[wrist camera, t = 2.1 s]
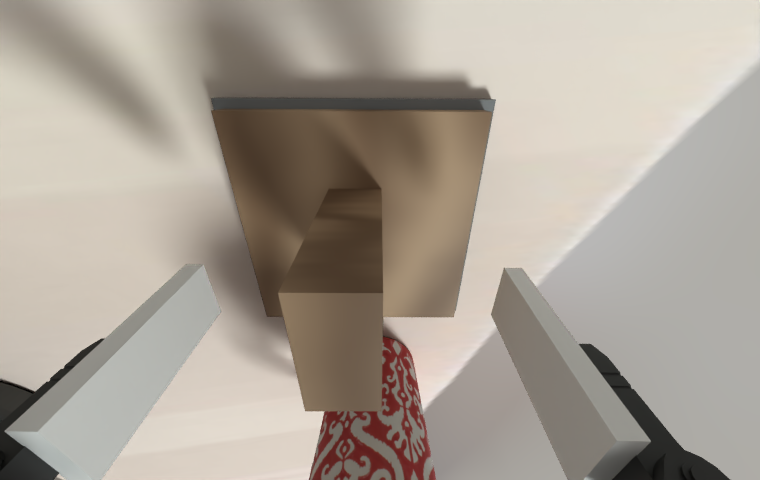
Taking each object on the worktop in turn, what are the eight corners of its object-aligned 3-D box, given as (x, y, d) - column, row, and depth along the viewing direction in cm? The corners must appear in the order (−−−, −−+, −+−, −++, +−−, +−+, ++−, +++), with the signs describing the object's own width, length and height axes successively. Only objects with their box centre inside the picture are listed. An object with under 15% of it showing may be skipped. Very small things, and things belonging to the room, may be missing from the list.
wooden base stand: (272, 305, 22) (197, 459, 13) (223, 108, 15) (-16, 146, 6) (450, 306, 22) (499, 459, 13) (484, 109, 15) (642, 149, 6)
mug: (359, 311, 23) (337, 552, 11) (442, 352, 25) (497, 584, 14) (293, 387, 28) (231, 607, 16) (368, 415, 30) (361, 622, 19)
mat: (269, 304, 22) (267, 310, 22) (216, 97, 15) (211, 98, 14) (453, 305, 22) (455, 310, 22) (491, 99, 15) (495, 99, 14)
